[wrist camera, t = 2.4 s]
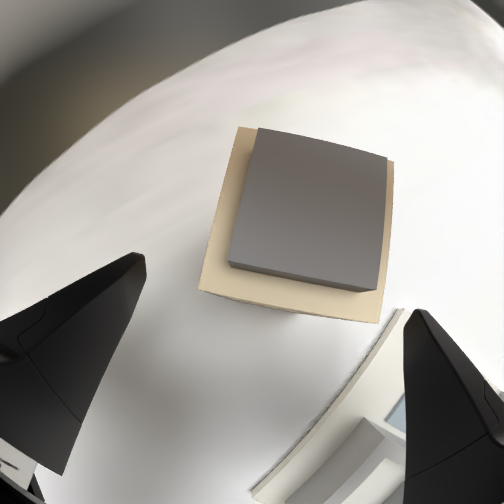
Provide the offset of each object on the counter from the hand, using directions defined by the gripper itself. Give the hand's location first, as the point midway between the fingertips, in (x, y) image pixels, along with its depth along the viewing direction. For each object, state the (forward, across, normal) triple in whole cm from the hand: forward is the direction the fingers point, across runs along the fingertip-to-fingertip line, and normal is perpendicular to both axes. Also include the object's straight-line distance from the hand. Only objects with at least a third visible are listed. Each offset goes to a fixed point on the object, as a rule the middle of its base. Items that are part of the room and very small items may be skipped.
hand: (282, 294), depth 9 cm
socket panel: (-2, -15, +14) cm, 21 cm away
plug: (+8, 0, +5) cm, 9 cm away
